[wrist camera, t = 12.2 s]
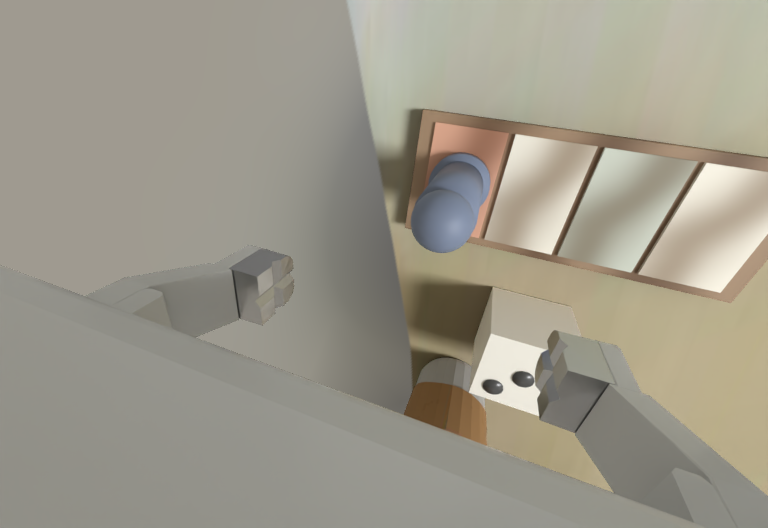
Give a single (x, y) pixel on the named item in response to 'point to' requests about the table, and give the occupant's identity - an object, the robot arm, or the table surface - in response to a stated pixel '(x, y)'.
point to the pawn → (450, 203)
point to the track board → (610, 202)
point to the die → (515, 346)
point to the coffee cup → (448, 400)
